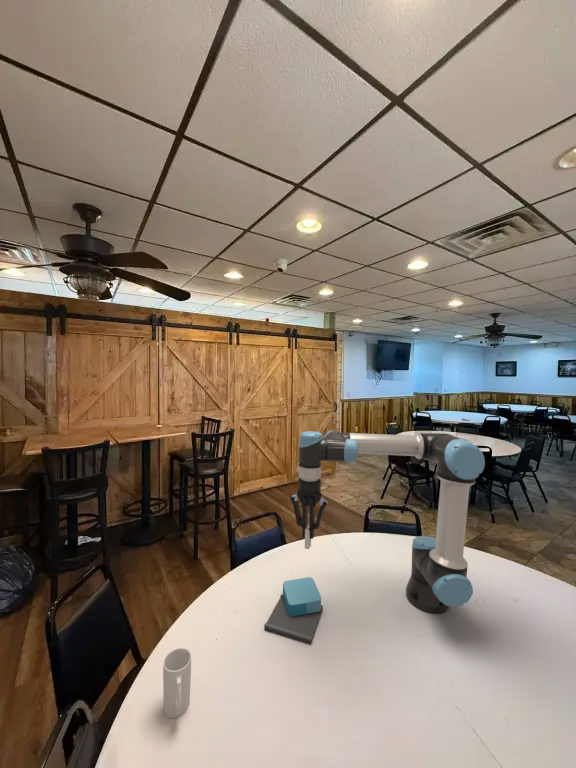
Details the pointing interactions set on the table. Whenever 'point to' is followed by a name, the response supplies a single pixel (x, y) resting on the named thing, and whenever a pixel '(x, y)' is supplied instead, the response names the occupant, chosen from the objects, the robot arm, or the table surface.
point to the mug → (176, 682)
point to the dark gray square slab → (293, 623)
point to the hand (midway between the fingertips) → (307, 546)
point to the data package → (301, 596)
